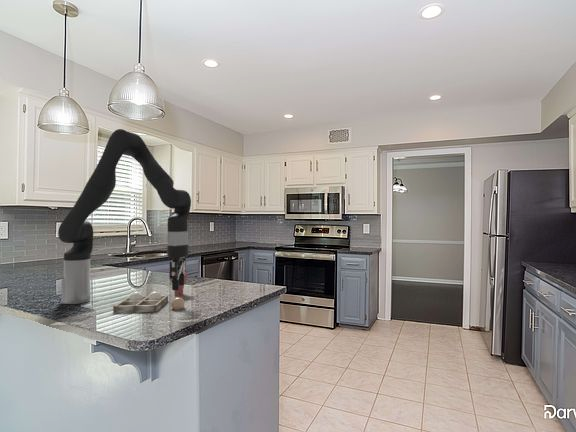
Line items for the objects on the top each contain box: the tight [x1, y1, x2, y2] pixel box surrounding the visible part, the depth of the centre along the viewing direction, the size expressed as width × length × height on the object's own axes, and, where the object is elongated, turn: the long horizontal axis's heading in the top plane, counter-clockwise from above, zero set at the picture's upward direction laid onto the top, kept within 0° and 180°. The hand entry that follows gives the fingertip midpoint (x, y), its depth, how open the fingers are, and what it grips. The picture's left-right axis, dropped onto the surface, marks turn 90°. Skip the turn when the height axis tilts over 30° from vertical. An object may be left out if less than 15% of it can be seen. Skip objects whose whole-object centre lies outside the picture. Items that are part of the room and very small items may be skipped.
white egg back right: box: [147, 290, 162, 300], centre depth 131 cm, size 5×5×5 cm
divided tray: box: [112, 295, 169, 314], centre depth 128 cm, size 15×15×3 cm
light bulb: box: [169, 271, 188, 296], centre depth 147 cm, size 7×7×12 cm
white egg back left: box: [129, 291, 144, 301], centre depth 131 cm, size 5×5×5 cm
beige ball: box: [170, 296, 186, 311], centre depth 125 cm, size 5×5×5 cm
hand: (178, 287), depth 125 cm, fingers open, 8 cm apart
